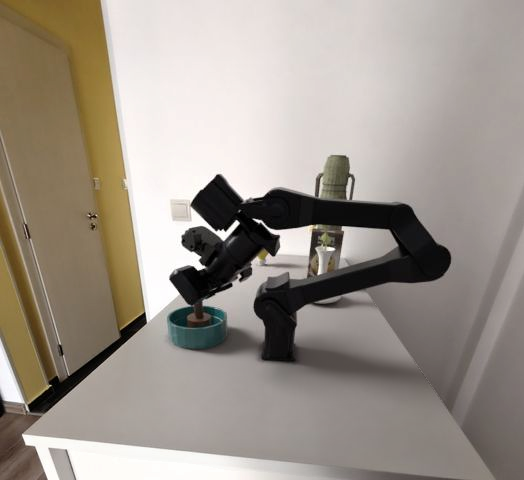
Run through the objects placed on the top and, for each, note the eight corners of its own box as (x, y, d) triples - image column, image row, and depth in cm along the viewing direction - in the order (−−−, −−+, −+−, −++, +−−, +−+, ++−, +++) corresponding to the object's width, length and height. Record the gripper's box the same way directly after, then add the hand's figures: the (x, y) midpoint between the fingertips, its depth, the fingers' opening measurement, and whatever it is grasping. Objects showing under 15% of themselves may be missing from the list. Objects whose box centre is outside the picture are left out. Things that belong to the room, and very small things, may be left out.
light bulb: (250, 262, 123) (250, 234, 118) (267, 262, 125) (268, 234, 120) (255, 267, 117) (255, 238, 112) (273, 266, 119) (274, 237, 114)
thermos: (309, 267, 120) (321, 155, 103) (342, 271, 117) (360, 156, 100) (304, 273, 113) (315, 154, 96) (339, 278, 109) (357, 155, 92)
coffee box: (305, 286, 101) (310, 231, 93) (307, 280, 106) (313, 227, 98) (335, 289, 99) (343, 233, 91) (336, 283, 104) (344, 229, 97)
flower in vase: (307, 290, 98) (317, 197, 86) (345, 297, 93) (361, 200, 81) (289, 303, 88) (296, 200, 76) (330, 313, 83) (345, 204, 71)
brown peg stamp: (215, 331, 69) (214, 284, 64) (195, 337, 66) (192, 289, 61) (203, 323, 72) (201, 278, 67) (183, 329, 69) (179, 282, 65)
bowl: (221, 351, 64) (221, 330, 62) (161, 347, 65) (158, 326, 63) (231, 325, 75) (230, 306, 73) (178, 322, 75) (177, 303, 73)
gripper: (239, 207, 63) (197, 257, 73) (172, 217, 49) (130, 277, 59) (274, 254, 64) (227, 297, 74) (217, 278, 50) (169, 328, 60)
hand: (192, 298), depth 67 cm, fingers closed on brown peg stamp
